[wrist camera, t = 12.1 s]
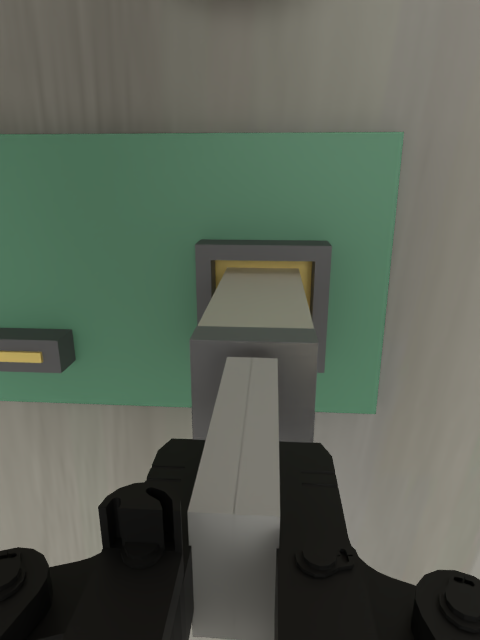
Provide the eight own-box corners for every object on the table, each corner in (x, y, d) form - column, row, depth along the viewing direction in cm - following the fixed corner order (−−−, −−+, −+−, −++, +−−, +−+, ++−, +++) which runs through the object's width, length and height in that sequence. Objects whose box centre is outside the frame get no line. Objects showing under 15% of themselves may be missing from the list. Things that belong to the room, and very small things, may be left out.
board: (-38, 136, 26) (-79, 131, 23) (398, 133, 24) (416, 127, 21) (6, 393, 31) (-23, 417, 28) (372, 406, 29) (383, 433, 26)
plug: (226, 266, 26) (189, 339, 14) (298, 267, 26) (318, 343, 14) (227, 334, 27) (193, 451, 16) (296, 336, 27) (312, 456, 15)
